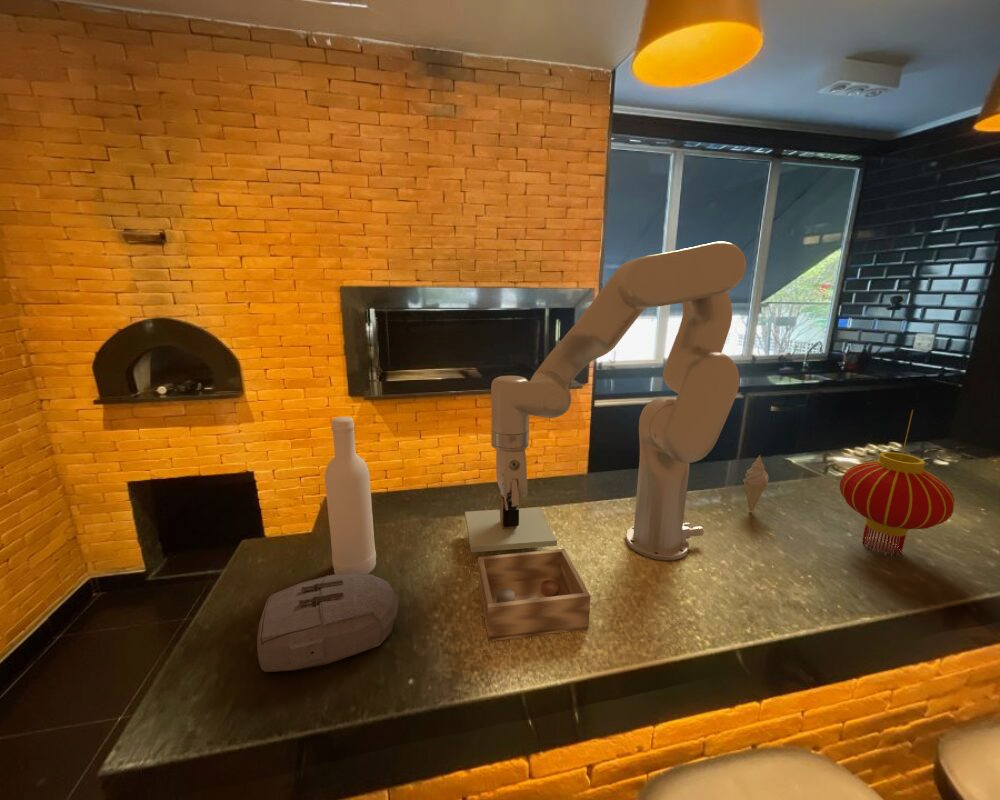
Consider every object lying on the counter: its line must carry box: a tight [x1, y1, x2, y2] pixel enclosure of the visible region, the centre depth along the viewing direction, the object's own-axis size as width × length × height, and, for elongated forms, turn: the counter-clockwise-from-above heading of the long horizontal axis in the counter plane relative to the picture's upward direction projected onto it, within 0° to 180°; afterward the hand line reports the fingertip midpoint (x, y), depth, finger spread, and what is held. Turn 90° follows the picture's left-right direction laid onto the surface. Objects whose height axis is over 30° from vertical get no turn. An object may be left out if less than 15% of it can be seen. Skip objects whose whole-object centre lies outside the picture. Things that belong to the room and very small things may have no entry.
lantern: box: [839, 409, 955, 554], centre depth 86 cm, size 17×17×30 cm
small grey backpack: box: [256, 573, 400, 673], centre depth 65 cm, size 15×8×20 cm
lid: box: [464, 496, 558, 553], centre depth 89 cm, size 17×14×8 cm
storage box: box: [477, 548, 591, 643], centre depth 71 cm, size 16×13×6 cm
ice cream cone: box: [742, 454, 769, 512], centre depth 102 cm, size 5×5×15 cm
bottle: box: [324, 416, 377, 575], centre depth 79 cm, size 8×8×30 cm
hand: (509, 520), depth 89 cm, fingers closed on lid, 3 cm apart
